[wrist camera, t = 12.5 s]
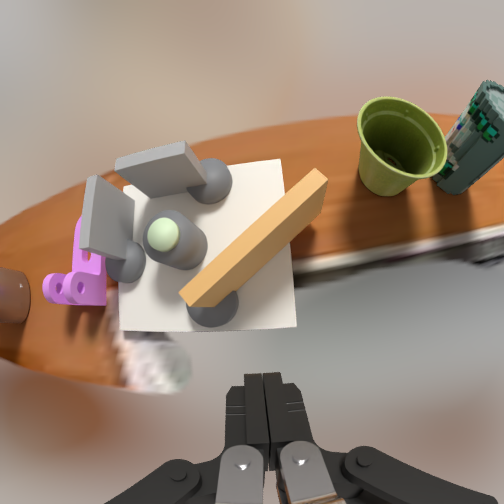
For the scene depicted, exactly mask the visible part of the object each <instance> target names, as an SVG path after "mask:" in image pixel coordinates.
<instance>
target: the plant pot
mask: <svg viewBox="0 0 504 504" xmlns="http://www.w3.org/2000/svg"><path fill="white" fill-rule="evenodd" d="M357 129H358V134H359V137H360V139H361V150H360V159H359V174H360V178H361V180H362V182H363V183H364V185H365V186H366V187H367V188H368V189H369V190H370V191H372V192H373V193H375V194H377V195H380V196H394V195H397V194H398V193H400V192H401V191H403V190H404V189H405V188H407V187H408V186H410V185H411V184H412V183H414V182H415V181H417V180H418V179H425V178H429V177H432V176H434V175H435V174H437V173H438V172H439V171H440V170H441V169H442V168H443V166H444V165H445V162H446V159H447V144H446V140H445V137H444V135H443V133H442V131H441V129H440V127H439V126H438V124H437V123H436V122H435V121H434V120H433V118H432V117H431V116H430V115H429V114H427V113H426V112H425V111H424V110H422V109H421V108H420V107H418V106H417V105H415V104H413V103H411V102H408V101H406V100H403V99H400V98H395V97H378V98H375V99H372V100H370V101H368V102H367V103H366V104H365V105H364V106H363V107H362V108H361V110H360V112H359V114H358V119H357ZM387 158H390V159H392V160H393V161H394V162H395V163H396V166H395V165H394V164H393V163H392V162H391V161H389V160H388V159H387Z"/></svg>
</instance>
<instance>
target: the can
mask: <svg viewBox="0 0 504 504" xmlns="http://www.w3.org/2000/svg"><path fill="white" fill-rule="evenodd" d="M445 140H446V144H447V159H446V162H445V165H444V166H443V168H442V169H441V170H440V171H439V172H438V173H437V174H435V175H434V176H433V178H432V179H433V180H434V181H436V182H437V186H438V187H440V188H441V189H442V190H444V191H445V192H446V193H448V194H449V193H451V194H453V195H455V194H456V195H458V194H461V193H463V192H464V191H465V190H466V189H468V188H469V187H470V186H471V185H472V184H474V183H475V182H476V181H477V180H479V179H480V178H481V177H482V176H483V175H484V174H486V173H487V172H488V171H489V170H490V169H491V168H493V167H494V166H495V165H496V164H497V163H498V162H499V161H501V160H502V159H503V158H504V87H503V86H501V85H498V84H497V83H495V82H494V81H493V82H492V81H490V82H489V81H488V80H486V82H484V81H483V82H482V84H481V85H480V87H479V89H478V90H477V92H476V93H475V95H474V96H473V98H472V99H471V101H470V103H469V104H468V105H467V107H466V108H465V110H464V111H463V113H462V114H461V115H460V117H459V118H458V120H457V121H456V123H455V124H454V125H453V127H452V128H451V130H450V131H449V132H448V134H447V135H446V136H445Z"/></svg>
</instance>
